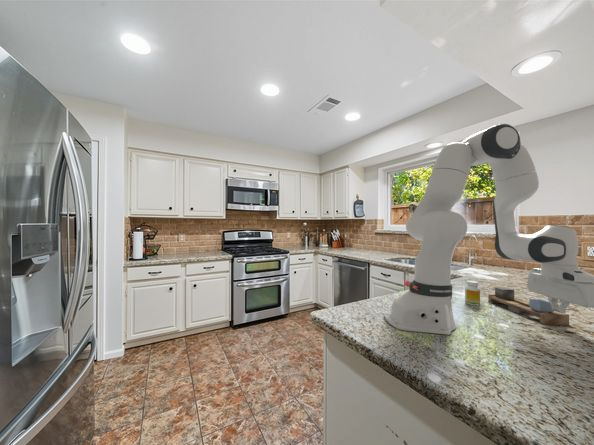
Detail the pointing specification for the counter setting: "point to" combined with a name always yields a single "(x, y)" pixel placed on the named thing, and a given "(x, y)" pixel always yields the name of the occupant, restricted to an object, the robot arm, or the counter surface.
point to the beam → (525, 307)
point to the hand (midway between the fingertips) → (558, 311)
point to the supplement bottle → (472, 293)
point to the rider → (540, 305)
